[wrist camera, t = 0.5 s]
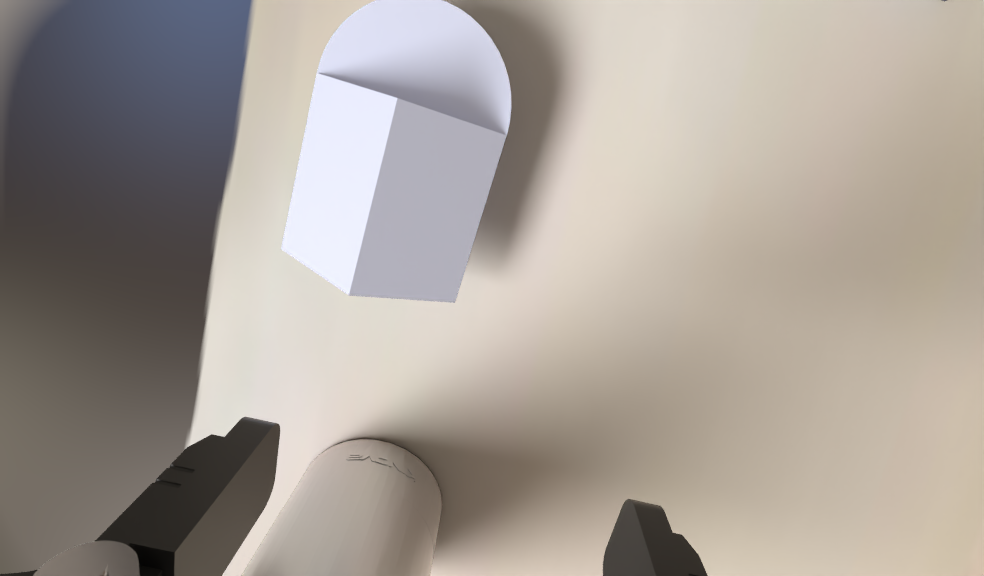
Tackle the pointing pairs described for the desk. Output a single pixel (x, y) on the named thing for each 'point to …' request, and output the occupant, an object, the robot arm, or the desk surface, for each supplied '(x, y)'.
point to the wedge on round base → (399, 151)
